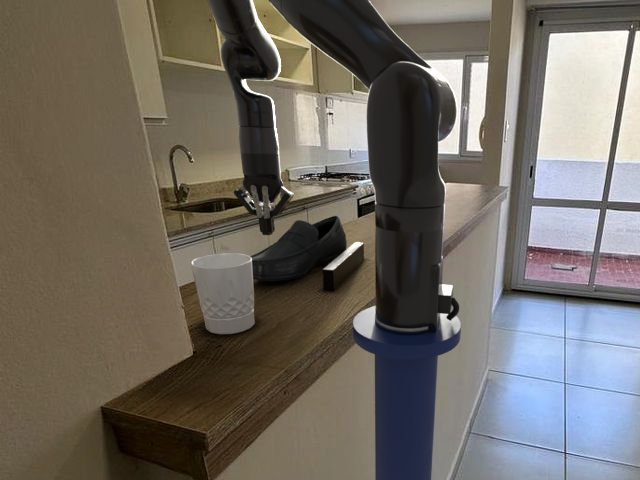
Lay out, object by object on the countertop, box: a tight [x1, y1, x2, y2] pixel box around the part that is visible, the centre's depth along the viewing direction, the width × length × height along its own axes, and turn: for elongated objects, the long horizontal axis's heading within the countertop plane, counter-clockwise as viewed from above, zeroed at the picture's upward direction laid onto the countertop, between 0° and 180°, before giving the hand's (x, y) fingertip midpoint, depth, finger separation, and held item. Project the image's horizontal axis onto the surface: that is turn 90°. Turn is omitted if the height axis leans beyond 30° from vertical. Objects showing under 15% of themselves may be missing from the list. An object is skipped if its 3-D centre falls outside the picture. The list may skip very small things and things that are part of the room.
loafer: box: [249, 215, 348, 282], centre depth 91 cm, size 10×29×10 cm, turn 162°
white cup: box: [190, 252, 256, 335], centre depth 64 cm, size 8×8×10 cm
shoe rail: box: [322, 241, 365, 292], centre depth 91 cm, size 2×22×4 cm, turn 172°
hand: (267, 234), depth 98 cm, fingers closed
